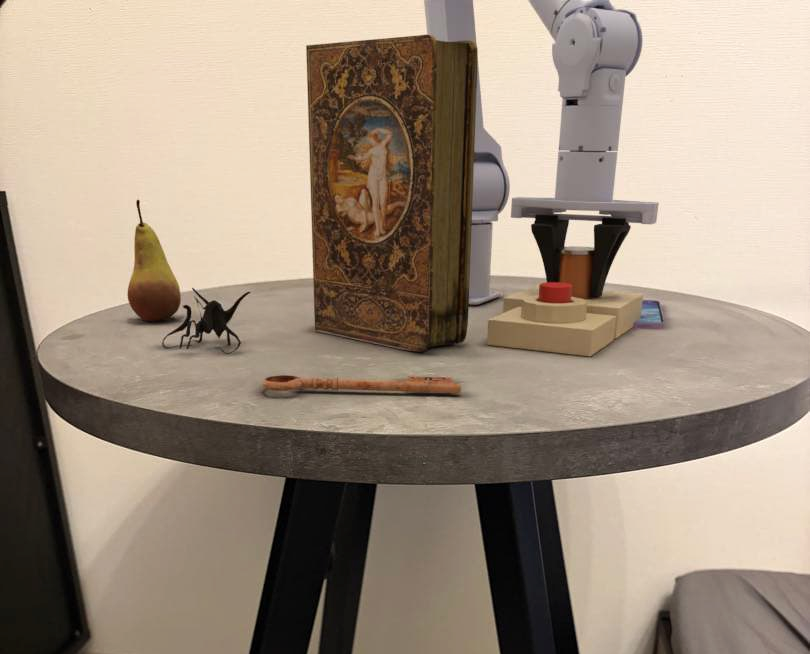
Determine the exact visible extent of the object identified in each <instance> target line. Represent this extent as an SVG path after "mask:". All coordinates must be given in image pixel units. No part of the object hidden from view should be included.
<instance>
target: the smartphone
mask: <svg viewBox="0 0 810 654" xmlns="http://www.w3.org/2000/svg"><path fill="white" fill-rule="evenodd" d="M664 328H665V318H664V313H663V309H662V305H661V302H660V301H659V300H656V299H643V301H642V309H641V318H640V319H638V320H637V321H636V322H634V323H633V327H632V328H631V329H645V330H646V329H647V330H648V329H649V330H662V329H664Z"/></svg>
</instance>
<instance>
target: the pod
mask: <svg viewBox="0 0 810 654" xmlns="http://www.w3.org/2000/svg"><path fill="white" fill-rule="evenodd" d="M558 253H560V267H559V281H558V282H559V283H567V284H571V285H572V292H571V297H576V298H581V299H584V300H588V299H592V297H590V287H591V280H592V273H593V265H594V246H583V245H582V246H578V245H577V246H575V245H572V246H564V247H559V248H558Z"/></svg>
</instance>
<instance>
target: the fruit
mask: <svg viewBox="0 0 810 654" xmlns="http://www.w3.org/2000/svg"><path fill="white" fill-rule="evenodd" d="M140 203H141V202H140V199H137V200H136V202H135V204H136V208H137V214H138V218H139V223H138V224H137V225H136V226H135V229H134V230H135V232H134V249H133V250H134V263H133V271H132V274H131V276H130V279H129V283H128V287H127V300H128V303H129V305H130V308H131V310H132V311H133V312H134V313H135V314H136V316H137V317H139V318H140V319H141V320H143V321H147V322H155V321H159V322H161V321H166V320H168V319H170V318H172V317H173V316H174V315H175V314H176V313H177V312H178V310H179V308H180V307H181V302H182V295H181V289H180V286H179V282H178V280H177V278H176V276H175V274H174V273H173V270H172V268H171V266H170V264H169V262H168V260H167V256H166V254H165V251H164V249H163V246H162V244H161V241H160V239H159V237H158V235H157V234H156V232H155V230H154V229H153V228H152V227H151V226H150V225H149V224H148V223H147V222H144V221H143V217H142V212H141V205H140Z"/></svg>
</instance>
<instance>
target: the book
mask: <svg viewBox="0 0 810 654" xmlns="http://www.w3.org/2000/svg"><path fill="white" fill-rule="evenodd" d="M476 43H477V42H476ZM476 43H475V42H474V41H469V40H466V41H455V42H445V41H438V40H436V39H435V37H434V36H432V35H427V34H420V35H419V34H417V35H409V36H407V35H406V36H397V37H386V38H374V39H363V40H352V41H341V42H330V43H329V42H328V43H318V44H317V43H316V44H308V45H307V44H306V46H305V50H306V84H307V87H306V88H307V113H308V114H307V116H308V140H309V141H308V147H309V150H308V151H309V179H310V180H309V182H310V184H309V185H310V210H311V211H310V213H311V214H310V215H311V246H312V247H311V248H312V250H311V251H312V276H313V277H312V278H313V279H312V280H313V281H312V283H313V310H314V313H313V314H314V331H315V332H318V333H324V334H329V335H333V336H338V337H342V338H347V339H352V340H356V341H361V342H366V343H369V344H373V345H374V344H375V345H379V346H383V347H389V348H393V349H399V350H404V351H412V352H417V353H422V352H426V351H428V349H429V348H431V347H437V346H444V345H458V344H463V342H464V341H465V340H466V338H467V332H468V326H469V307H470V304H469V281H470V254H471V226H472V199H473V172H474V144H475V117H476V90H477V60H478V61H479V57H478V53H479V52H478V44H477V45H476Z"/></svg>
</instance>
